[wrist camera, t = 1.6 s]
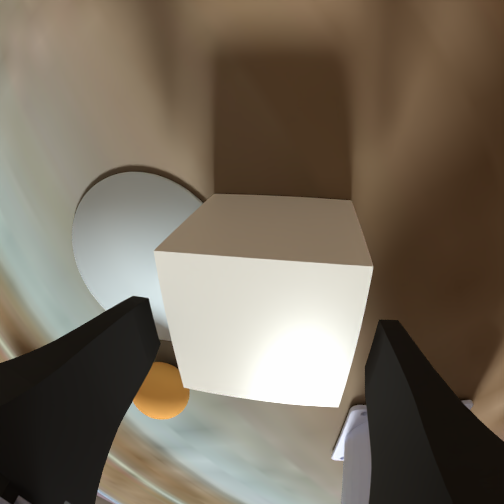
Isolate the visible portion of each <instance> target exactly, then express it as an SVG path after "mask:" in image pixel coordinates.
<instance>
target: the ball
mask: <svg viewBox="0 0 504 504" xmlns="http://www.w3.org/2000/svg"><path fill="white" fill-rule="evenodd" d="M188 400H189V388H184V386H183V383H182V379H181V375H180V372H179V370H178V369H177V368H176V367H174V366H173V365H170V364H168V363H164V362H153V364H152V367H151V369H150V371H149V373H148V375H147V376H146V378H145V380H144V382H143V384H142V385H141V387H140V389H139V391H138V392H137V394H136V396H135V398H134V399H133V402H134V404H135V405H136V407H137V408H138V409H139V410H140V411H141V412H142V413H144V414H145V415H147V416H149V417H151V418H154V419H169V418H172V417H174V416H176V415H178V414H179V413H180V412H182V411H183V409H184V408H185V407H186V405H187V403H188Z"/></svg>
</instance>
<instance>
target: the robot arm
mask: <svg viewBox="0 0 504 504" xmlns="http://www.w3.org/2000/svg"><path fill="white" fill-rule="evenodd" d="M159 346H160V341H159V337H158V333H157V330H156V326H155V322H154V318H153V314H152V310H151V306H150V302H149V298H145V297H139V296H132V297H130V298H128V299H126V300H124V301H122V302H120V303H118V304H117V305H115V306H113V307H112V308H110V309H108V310H107V311H105V312H103V313H102V314H100V315H98V316H97V317H95V318H93V319H92V320H90V321H88V322H87V323H85V324H83V325H82V326H80V327H78V328H77V329H75V330H73V331H71V332H69V333H68V334H66V335H64V336H62V337H60V338H59V339H57V340H55V341H53V342H51V343H49V344H47V345H45V346H43V347H41V348H38V349H36V350H34V351H32V352H29V353H27V354H25V355H22V356H19V357H16V358H14V359H11V360H8V361H5V362H2V363H0V504H95V500H96V495H97V490H98V487H99V483H100V479H101V475H102V472H103V468H104V465H105V462H106V459H107V456H108V453H109V450H110V448H111V445H112V442H113V440H114V437H115V435H116V432H117V430H118V427H119V425H120V423H121V421H122V419H123V417H124V415H125V414H126V412H127V410H128V408H129V407H130V405H131V403H132V401H133V399H134V398H135V396H136V394H137V392H138V391H139V389H140V387H141V385H142V384H143V382H144V380H145V378H146V376H147V375H148V373H149V371H150V369H151V367H152V364H153V362H154V360H155V357H156V354H157V352H158V349H159ZM365 398H366V405H355V406H353V407H351V408H350V410H349V413H348V416H347V418H346V421H345V423H344V426H343V428H342V431H341V433H340V436H339V438H338V441H337V443H336V445H335V448H334V450H333V452H332V456H331V458H332V459H333V460H344V462H343V482H342V498H341V504H504V441H502V440H501V439H500V438H499V437H498V436H497V435H495V434H494V433H493V432H492V431H491V430H490V429H489V428H487V427H486V426H485V425H484V424H483V423H482V422H481V421H480V420H479V419H478V418H477V417H476V416H475V415H474V414H473V413H472V412H471V411H470V409H471V408H472V406H473V403H472V400H462V401H461V400H460V399H459V398H458V397H457V396H456V395H455V394H454V392H453V391H452V390H451V389H450V388H449V386H448V385H447V384H446V383H445V382H444V380H443V379H442V378H441V377H440V375H439V374H438V373H437V372H436V370H435V369H434V368H433V367H432V365H431V364H430V363H429V361H428V360H427V359H426V357H425V356H424V355H423V353H422V352H421V351H420V349H419V348H418V347H417V345H416V344H415V342H414V341H413V340H412V338H411V337H410V336H409V334H408V333H407V332H406V330H405V329H404V327H403V326H402V325H401V323H400V322H399V321H398V320H379V322H378V325H377V329H376V333H375V336H374V340H373V343H372V346H371V350H370V353H369V356H368V359H367V363H366V366H365Z"/></svg>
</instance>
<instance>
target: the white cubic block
mask: <svg viewBox="0 0 504 504" xmlns="http://www.w3.org/2000/svg"><path fill="white" fill-rule="evenodd" d="M154 257H155V263H156V268H157V274H158V279H159V284H160V289H161V294H162V299H163V304H164V309H165V313H166V318H167V322H168V327H169V331H170V336H171V340H172V344H173V348H174V352H175V356H176V360H177V364H178V368H179V372H180V375H181V379H182V383H183V386H184V388H189V389H193V390H198V391H204V392H209V393H214V394H220V395H226V396H232V397H238V398H245V399H252V400H260V401H268V402H277V403H286V404H297V405H309V406H324V407H339V404H340V401H341V398H342V394H343V391H344V388H345V385H346V381H347V378H348V374H349V371H350V367H351V364H352V360H353V356H354V352H355V349H356V345H357V341H358V337H359V333H360V329H361V324H362V320H363V316H364V311H365V307H366V302H367V297H368V292H369V288H370V282H371V277H372V272H373V264H372V260H371V257H370V254H369V251H368V247H367V244H366V241H365V238H364V235H363V232H362V229H361V226H360V223H359V220H358V217H357V215H356V212H355V209H354V206H353V203H352V201H351V200H339V199H324V198H309V197H291V196H269V195H242V194H213V195H212V196H211V197H210V198H209V199H208V200H206V201H205V202H204V203H203V204H202V205H201V206H200V207H199V208H198V209H197V210H196V211H195V212H193V213H192V214H191V215H190V216H189V217H188V218H187V219H186V220H185V221H184V222H183V223H182V224H181V225H180V226H179V227H177V228H176V229H175V230H174V231H173V232H172V233H171V234H170V235H169V236H168V237H167V238H166V239H165V240H164V241H163V242H162V243H161V244H160V245H159V246H158V247H157V248H156V249H155V250H154Z"/></svg>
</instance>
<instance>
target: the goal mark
mask: <svg viewBox="0 0 504 504" xmlns="http://www.w3.org/2000/svg"><path fill="white" fill-rule="evenodd" d="M202 204H203V202H202V201H201V200H200V199H198V198H197V197H196V196H195V195H194V194H193V193H191V192H190V191H189V190H187V189H186V188H184V187H183V186H181V185H180V184H178V183H176V182H174V181H172V180H169V179H167V178H165V177H162V176H159V175H156V174H151V173H146V172H124V173H118V174H115V175H112V176H109V177H107V178H105V179H103V180H101V181H100V182H98V183H97V184H95V185H94V186H93V187H92V188H91V189H90V190H89V191H88V192H87V193H86V194H85V195H84V197H83V198H82V200H81V202H80V203H79V206H78V208H77V210H76V213H75V217H74V220H73V227H72V244H73V252H74V256H75V260H76V264H77V267H78V269H79V272H80V274H81V276H82V279H83V280H84V282H85V284H86V286H87V288H88V289H89V291H90V292H91V293H92V295H93V296H94V298H95V299H96V300H97V301H98V302H99V304H100V305H101V306H102V307H103V308H104V309H105V310H106V311H107V310H108V309H110V308H112V307H113V306H115V305H117V304H118V303H120V302H122V301H124V300H126V299H128V298H130V297H132V296H139V297H145V298H149V302H150V306H151V310H152V314H153V318H154V322H155V326H156V330H157V333H158V337H159V340H166V341H172V340H171V336H170V331H169V327H168V322H167V318H166V313H165V309H164V304H163V299H162V294H161V289H160V284H159V279H158V274H157V268H156V263H155V257H154V250H155V249H156V248H157V247H158V246H159V245H160V244H161V243H162V242H163V241H164V240H165V239H166V238H167V237H168V236H169V235H170V234H171V233H172V232H173V231H174V230H175V229H176V228H177V227H179V226H180V225H181V224H182V223H183V222H184V221H185V220H186V219H187V218H188V217H189V216H190V215H191V214H192V213H193V212H195V211H196V210H197V209H198V208H199V207H200V206H201V205H202Z"/></svg>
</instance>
